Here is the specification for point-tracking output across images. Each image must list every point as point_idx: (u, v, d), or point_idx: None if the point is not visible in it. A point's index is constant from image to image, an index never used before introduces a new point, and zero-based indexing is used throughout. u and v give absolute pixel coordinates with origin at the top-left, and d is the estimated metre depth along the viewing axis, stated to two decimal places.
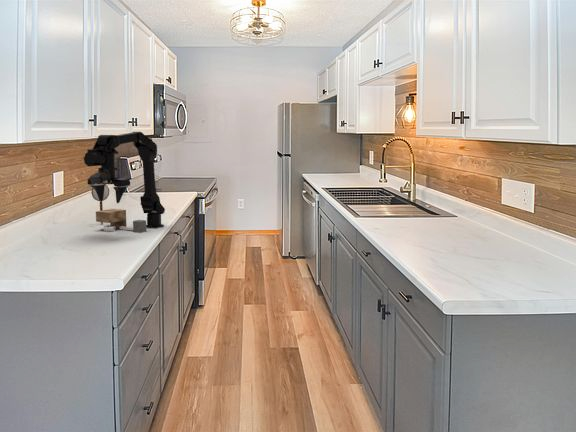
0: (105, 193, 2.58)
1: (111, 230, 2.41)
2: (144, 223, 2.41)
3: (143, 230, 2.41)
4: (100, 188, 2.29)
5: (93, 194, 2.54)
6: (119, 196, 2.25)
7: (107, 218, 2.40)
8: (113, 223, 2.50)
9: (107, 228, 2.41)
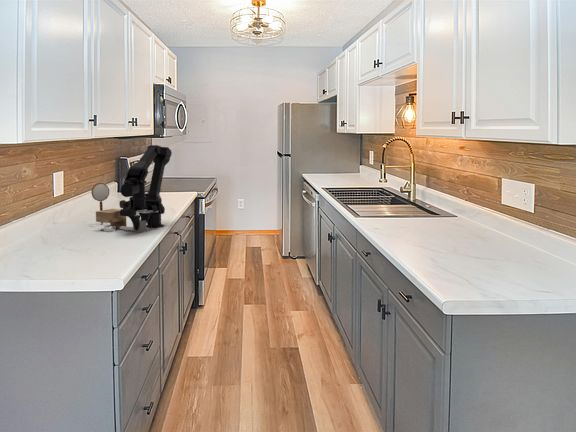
0: (105, 193, 2.58)
1: (111, 230, 2.41)
2: (144, 223, 2.41)
3: (143, 230, 2.41)
4: (143, 216, 2.43)
5: (93, 194, 2.54)
6: (134, 224, 2.39)
7: (107, 218, 2.40)
8: (113, 223, 2.50)
9: (107, 228, 2.41)
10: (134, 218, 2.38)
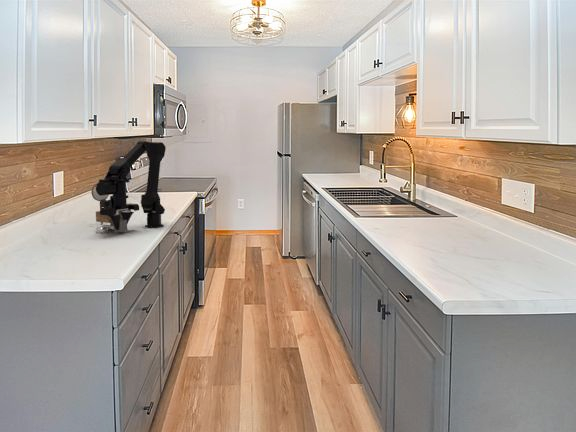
0: None
1: (103, 231, 2.37)
2: (125, 223, 2.37)
3: (123, 230, 2.37)
4: (125, 215, 2.39)
5: (93, 194, 2.54)
6: (115, 223, 2.34)
7: (107, 218, 2.40)
8: None
9: (99, 229, 2.37)
10: (114, 217, 2.33)
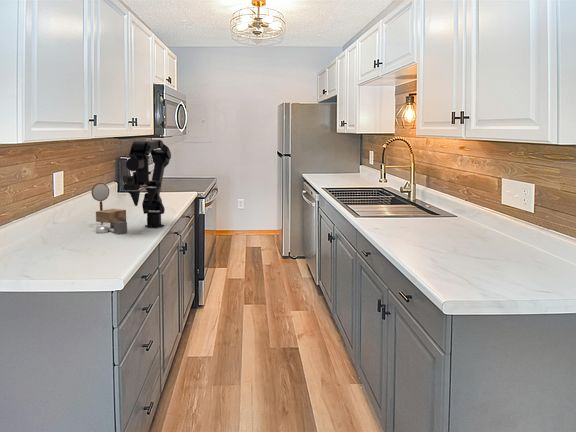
0: (105, 193, 2.58)
1: (104, 231, 2.38)
2: (125, 225, 2.37)
3: (123, 232, 2.37)
4: (150, 191, 2.45)
5: (93, 194, 2.54)
6: (134, 199, 2.36)
7: (107, 218, 2.40)
8: None
9: (100, 229, 2.37)
10: (134, 193, 2.35)
